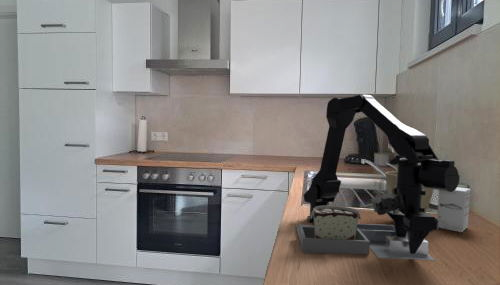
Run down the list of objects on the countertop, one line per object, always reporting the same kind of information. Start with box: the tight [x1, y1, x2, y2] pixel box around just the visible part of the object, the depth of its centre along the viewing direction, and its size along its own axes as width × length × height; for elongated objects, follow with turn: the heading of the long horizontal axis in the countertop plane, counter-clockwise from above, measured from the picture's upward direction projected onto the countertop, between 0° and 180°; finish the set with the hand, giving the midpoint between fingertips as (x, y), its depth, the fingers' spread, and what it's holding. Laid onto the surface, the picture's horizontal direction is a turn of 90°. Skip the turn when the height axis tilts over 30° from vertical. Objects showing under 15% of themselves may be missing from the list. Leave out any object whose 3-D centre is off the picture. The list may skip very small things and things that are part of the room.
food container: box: [311, 204, 362, 240], centre depth 89 cm, size 12×6×10 cm, turn 92°
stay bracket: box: [357, 223, 408, 244], centre depth 94 cm, size 6×12×4 cm, turn 87°
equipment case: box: [295, 224, 371, 255], centre depth 94 cm, size 21×16×4 cm
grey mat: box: [370, 243, 436, 261], centre depth 86 cm, size 10×13×1 cm
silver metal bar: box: [384, 236, 429, 255], centre depth 85 cm, size 3×9×3 cm, turn 87°
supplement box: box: [436, 186, 471, 233], centre depth 108 cm, size 7×7×13 cm
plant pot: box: [385, 170, 435, 213], centre depth 112 cm, size 15×15×16 cm
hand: (406, 247), depth 85 cm, fingers open, 7 cm apart
